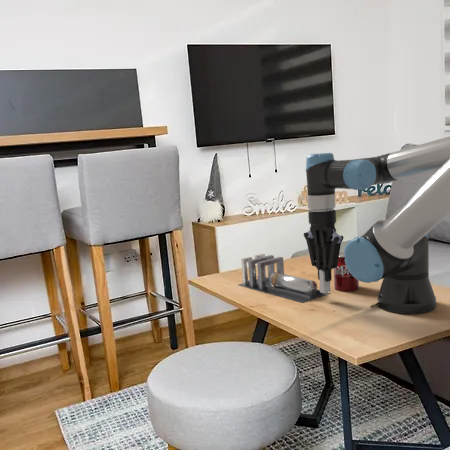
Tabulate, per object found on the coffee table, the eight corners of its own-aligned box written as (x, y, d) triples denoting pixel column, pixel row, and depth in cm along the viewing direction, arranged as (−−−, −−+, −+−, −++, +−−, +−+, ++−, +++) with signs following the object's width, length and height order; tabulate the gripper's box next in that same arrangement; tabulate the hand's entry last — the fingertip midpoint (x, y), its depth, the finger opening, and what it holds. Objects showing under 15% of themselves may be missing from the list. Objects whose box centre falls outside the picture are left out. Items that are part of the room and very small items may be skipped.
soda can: (359, 296, 152) (358, 256, 150) (334, 296, 154) (333, 257, 152) (358, 289, 159) (357, 251, 157) (334, 289, 161) (333, 252, 159)
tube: (317, 294, 151) (316, 278, 151) (306, 298, 149) (305, 282, 148) (280, 285, 164) (279, 270, 163) (269, 289, 161) (268, 274, 161)
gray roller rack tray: (331, 298, 152) (329, 264, 151) (302, 308, 145) (300, 273, 144) (264, 281, 176) (262, 252, 175) (237, 289, 169) (235, 259, 168)
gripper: (349, 209, 139) (352, 293, 142) (314, 206, 149) (317, 284, 153) (330, 212, 134) (334, 299, 138) (295, 209, 145) (299, 290, 148)
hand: (325, 291), depth 145 cm, fingers closed
